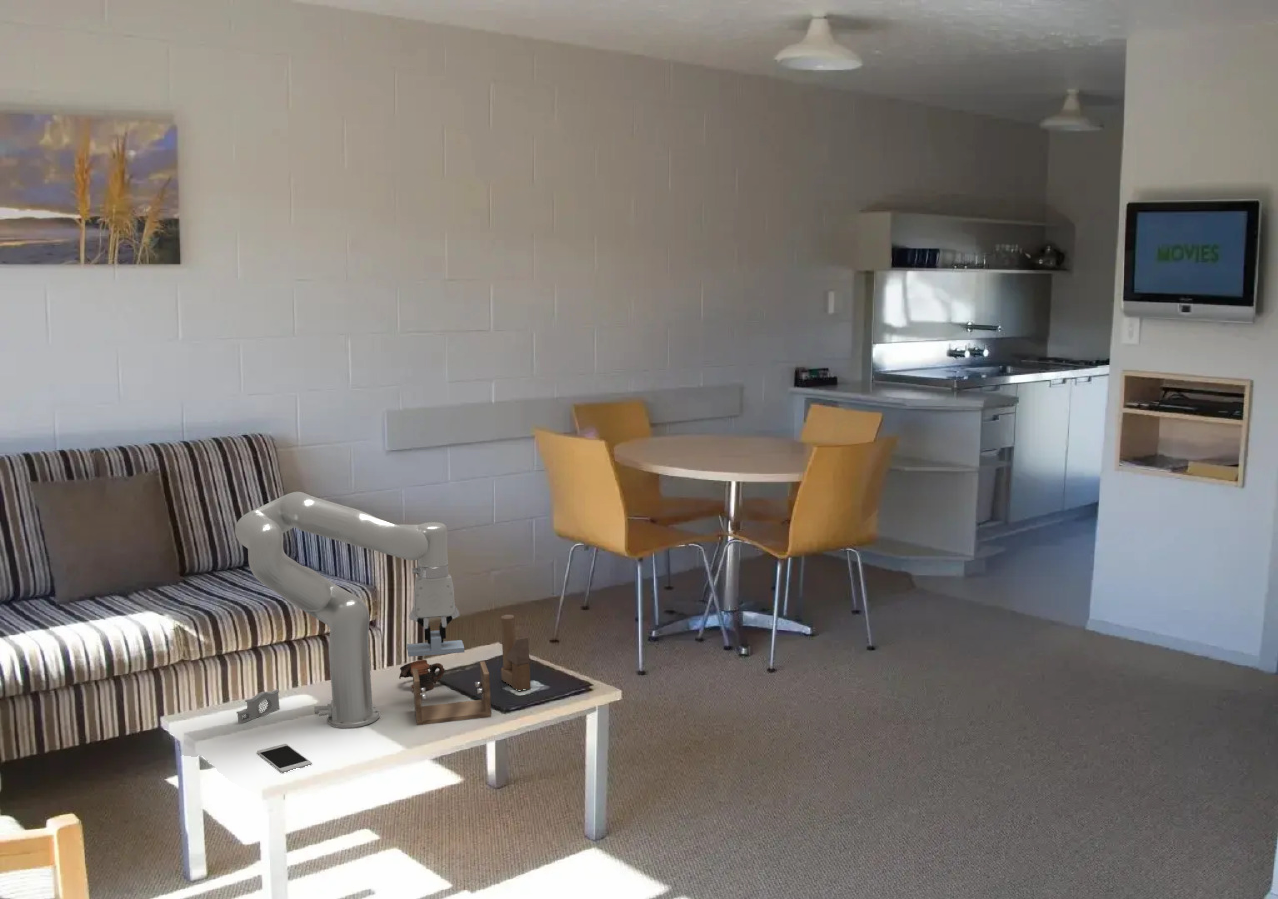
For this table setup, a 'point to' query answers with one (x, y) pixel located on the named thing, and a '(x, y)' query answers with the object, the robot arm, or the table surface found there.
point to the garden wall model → (254, 706)
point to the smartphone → (284, 758)
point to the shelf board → (435, 646)
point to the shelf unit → (453, 709)
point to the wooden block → (514, 656)
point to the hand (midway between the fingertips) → (435, 641)
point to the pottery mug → (423, 673)
